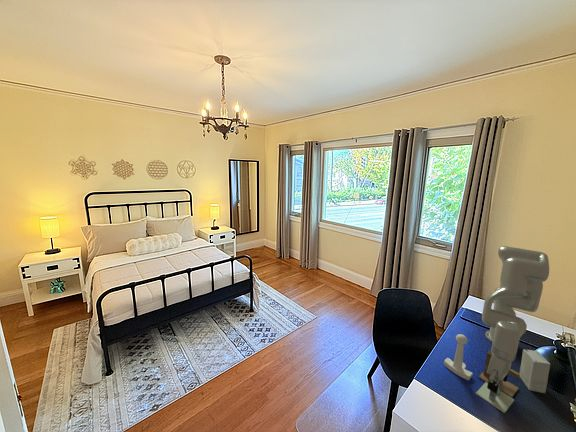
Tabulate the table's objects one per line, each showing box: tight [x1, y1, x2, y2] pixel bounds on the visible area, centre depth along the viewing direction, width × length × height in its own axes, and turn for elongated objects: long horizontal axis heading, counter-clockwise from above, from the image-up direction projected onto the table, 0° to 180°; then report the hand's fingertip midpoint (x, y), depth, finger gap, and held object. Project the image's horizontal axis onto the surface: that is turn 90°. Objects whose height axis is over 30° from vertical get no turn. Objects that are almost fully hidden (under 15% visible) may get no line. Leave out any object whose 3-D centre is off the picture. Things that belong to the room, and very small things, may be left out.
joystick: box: [443, 333, 473, 381], centre depth 116 cm, size 11×8×20 cm
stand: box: [478, 350, 520, 398], centre depth 109 cm, size 8×12×13 cm, turn 31°
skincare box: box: [518, 348, 551, 394], centre depth 108 cm, size 8×6×15 cm
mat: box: [475, 381, 515, 414], centre depth 104 cm, size 10×10×1 cm
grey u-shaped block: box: [489, 377, 504, 402], centre depth 103 cm, size 7×2×8 cm, turn 121°
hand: (496, 384), depth 103 cm, fingers open, 9 cm apart
